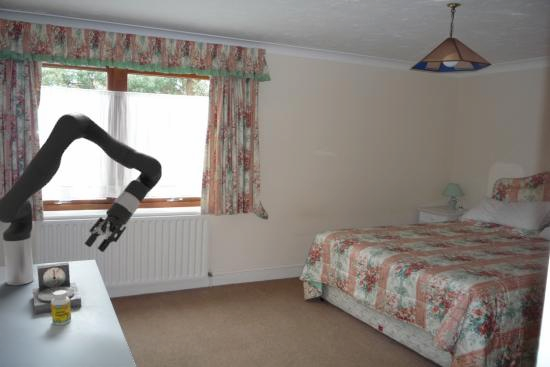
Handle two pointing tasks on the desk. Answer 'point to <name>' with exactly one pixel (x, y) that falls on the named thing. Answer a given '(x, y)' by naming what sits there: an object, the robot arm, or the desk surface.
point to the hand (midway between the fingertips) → (93, 248)
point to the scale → (54, 287)
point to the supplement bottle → (60, 308)
